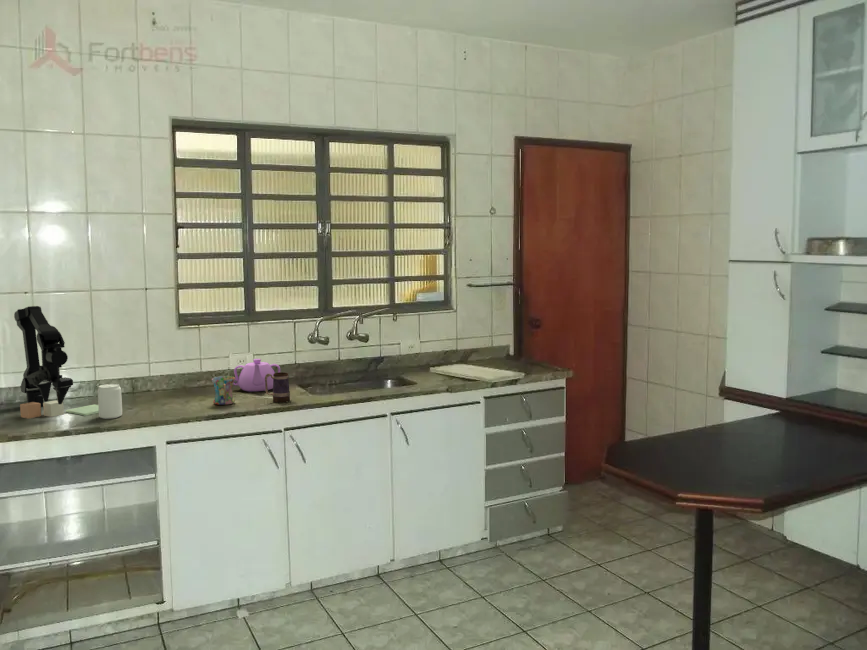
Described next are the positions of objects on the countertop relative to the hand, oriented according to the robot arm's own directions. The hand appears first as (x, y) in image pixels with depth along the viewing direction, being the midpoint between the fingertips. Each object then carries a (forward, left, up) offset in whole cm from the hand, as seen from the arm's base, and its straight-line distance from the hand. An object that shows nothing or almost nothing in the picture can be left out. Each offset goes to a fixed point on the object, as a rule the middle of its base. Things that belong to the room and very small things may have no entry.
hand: (53, 402), depth 280 cm
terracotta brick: (-5, -6, -5) cm, 9 cm away
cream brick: (0, 0, -5) cm, 5 cm away
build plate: (+6, +11, -5) cm, 13 cm away
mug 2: (+58, +61, -5) cm, 84 cm away
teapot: (+34, +74, -5) cm, 82 cm away
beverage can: (+22, +9, -5) cm, 24 cm away
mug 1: (+43, +46, -5) cm, 63 cm away
